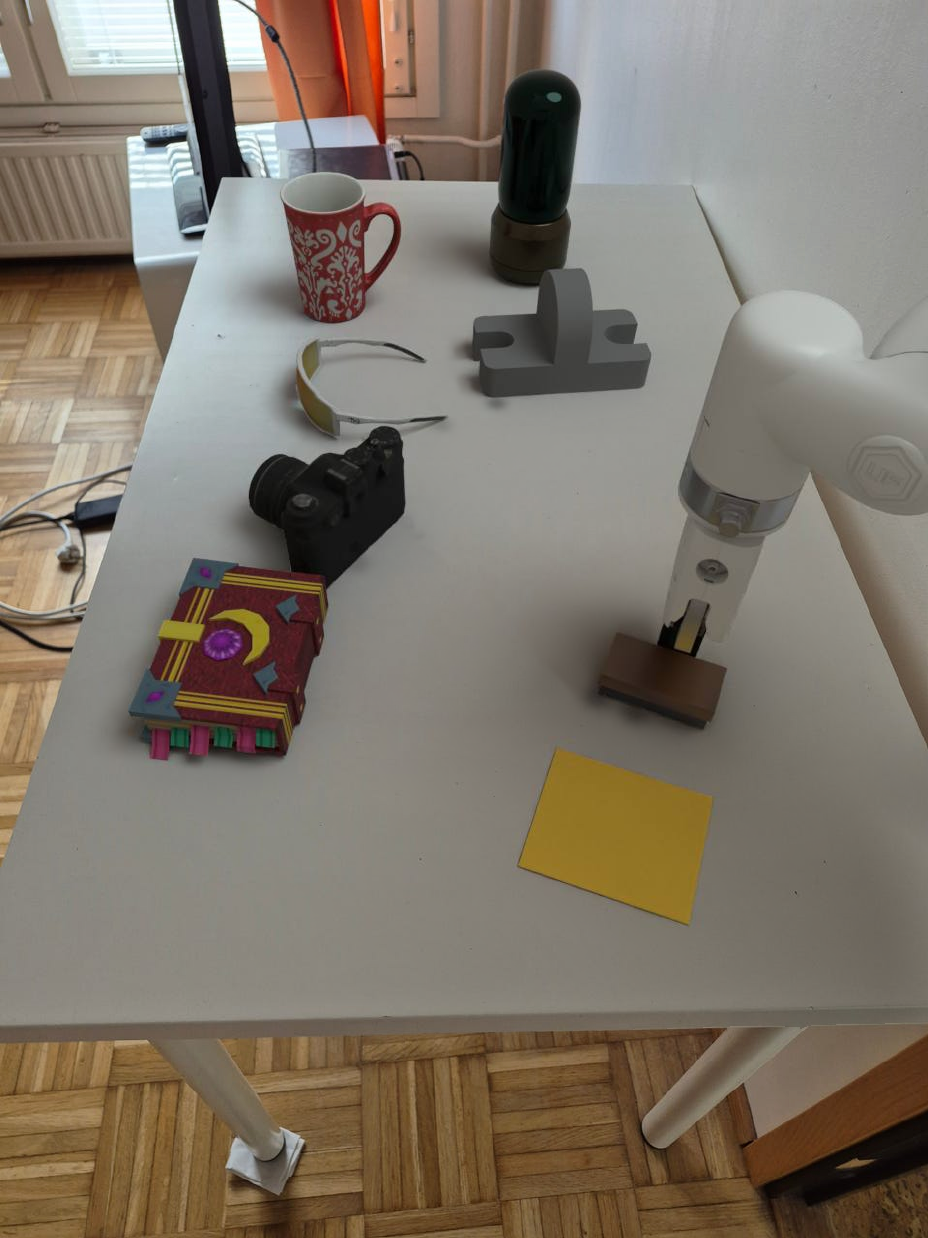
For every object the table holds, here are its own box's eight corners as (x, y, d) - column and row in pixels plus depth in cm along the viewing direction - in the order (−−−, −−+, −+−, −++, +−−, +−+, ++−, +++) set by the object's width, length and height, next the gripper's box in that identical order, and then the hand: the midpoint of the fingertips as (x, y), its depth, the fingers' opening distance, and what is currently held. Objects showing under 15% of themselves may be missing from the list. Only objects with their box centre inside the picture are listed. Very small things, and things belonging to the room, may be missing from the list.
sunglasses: (286, 365, 96) (287, 324, 92) (420, 365, 100) (426, 326, 97) (304, 450, 87) (306, 409, 84) (450, 446, 92) (458, 407, 88)
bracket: (647, 387, 96) (668, 297, 88) (483, 397, 94) (489, 306, 86) (625, 336, 102) (643, 247, 94) (470, 344, 100) (474, 254, 91)
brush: (717, 689, 71) (727, 667, 69) (705, 733, 69) (715, 712, 66) (610, 653, 73) (616, 631, 71) (594, 694, 71) (600, 673, 68)
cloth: (712, 798, 65) (713, 797, 65) (688, 925, 59) (689, 924, 59) (556, 749, 68) (556, 747, 67) (517, 866, 62) (518, 865, 61)
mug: (293, 329, 101) (277, 212, 90) (295, 285, 106) (281, 171, 96) (404, 327, 102) (402, 211, 91) (400, 283, 107) (398, 170, 97)
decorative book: (332, 607, 75) (327, 568, 71) (286, 775, 65) (277, 740, 61) (202, 592, 76) (190, 553, 72) (136, 756, 66) (118, 720, 62)
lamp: (556, 247, 114) (579, 55, 97) (572, 287, 108) (599, 90, 91) (483, 249, 113) (493, 56, 96) (494, 290, 107) (507, 92, 90)
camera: (333, 464, 87) (323, 378, 79) (419, 510, 83) (419, 426, 75) (231, 547, 79) (209, 462, 72) (321, 602, 76) (309, 519, 68)
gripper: (783, 577, 53) (705, 736, 67) (809, 427, 62) (736, 596, 76) (660, 543, 54) (609, 705, 69) (703, 401, 63) (650, 571, 78)
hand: (676, 647), depth 72 cm, fingers closed
